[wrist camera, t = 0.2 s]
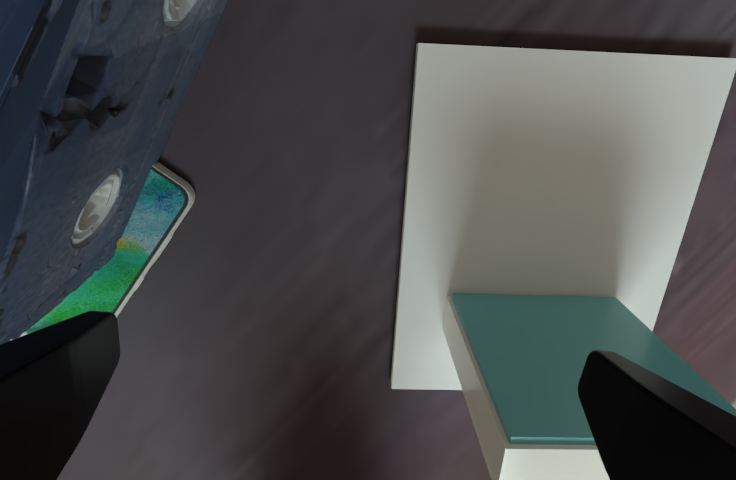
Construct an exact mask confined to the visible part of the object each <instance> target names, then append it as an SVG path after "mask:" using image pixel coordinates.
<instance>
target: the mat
mask: <svg viewBox="0 0 736 480" xmlns="http://www.w3.org/2000/svg"><path fill="white" fill-rule="evenodd" d="M735 71H736V58H716V57H696V56H675V55H655V54H634V53H614V52H593V51H573V50H552V49H532V48H511V47H491V46H470V45H450V44H430V43H417V44H416V57H415V70H414V83H413V96H412V109H411V122H410V135H409V148H408V161H407V174H406V187H405V200H404V214H403V227H402V240H401V253H400V266H399V279H398V292H397V305H396V318H395V331H394V344H393V357H392V370H391V389H426V390H462V387H461V384H460V381H459V378H458V375H457V372H456V369H455V366H454V363H453V360H452V356H451V353H450V350H449V347H448V344H447V341H446V338H445V335H444V332H443V323H444V314H445V306H446V298H447V296H452V293H465V294H506V295H547V296H588V297H616V298H617V299H618V300H619V301H620V302H621V303H622V304H623V305H624V306H626V307H627V308H628V309H629V310H630V311H631V312H632V313H633V314H634V315H635V316H636V317H637V318H638V319H639V320H640V321H642V322H643V323H644V324H645V325H646V326H647V327H648V328H649V329H650V330H651V331H653V328H654V325H655V321H656V318H657V315H658V312H659V309H660V306H661V303H662V300H663V296H664V293H665V290H666V287H667V284H668V281H669V278H670V274H671V271H672V268H673V265H674V262H675V259H676V256H677V253H678V249H679V246H680V243H681V240H682V237H683V234H684V231H685V228H686V224H687V221H688V218H689V215H690V212H691V209H692V206H693V202H694V199H695V196H696V193H697V190H698V187H699V184H700V181H701V177H702V174H703V171H704V168H705V165H706V162H707V159H708V156H709V152H710V149H711V146H712V143H713V140H714V137H715V134H716V131H717V127H718V124H719V121H720V118H721V115H722V112H723V109H724V105H725V102H726V99H727V96H728V93H729V90H730V87H731V84H732V80H733V77H734V74H735Z"/></svg>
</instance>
